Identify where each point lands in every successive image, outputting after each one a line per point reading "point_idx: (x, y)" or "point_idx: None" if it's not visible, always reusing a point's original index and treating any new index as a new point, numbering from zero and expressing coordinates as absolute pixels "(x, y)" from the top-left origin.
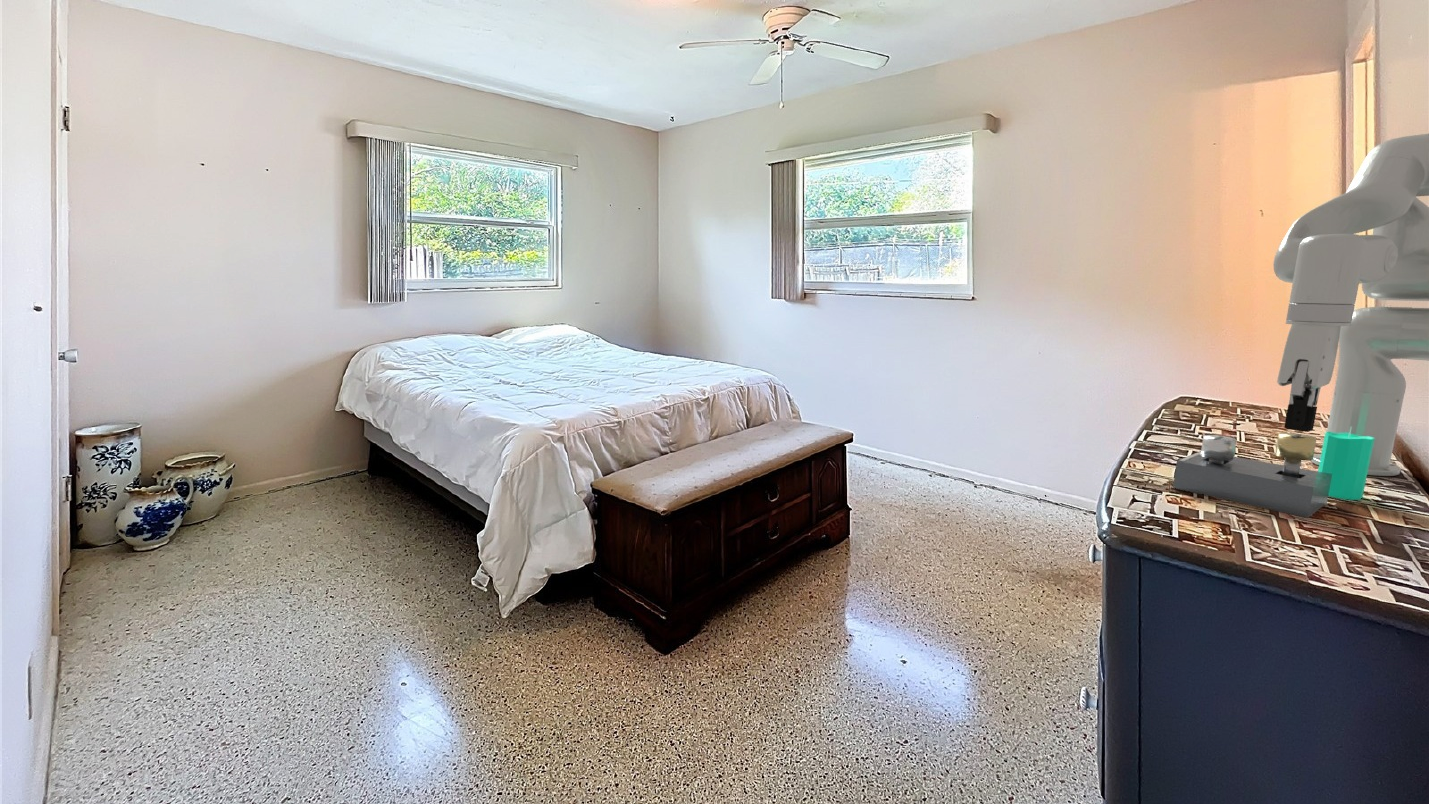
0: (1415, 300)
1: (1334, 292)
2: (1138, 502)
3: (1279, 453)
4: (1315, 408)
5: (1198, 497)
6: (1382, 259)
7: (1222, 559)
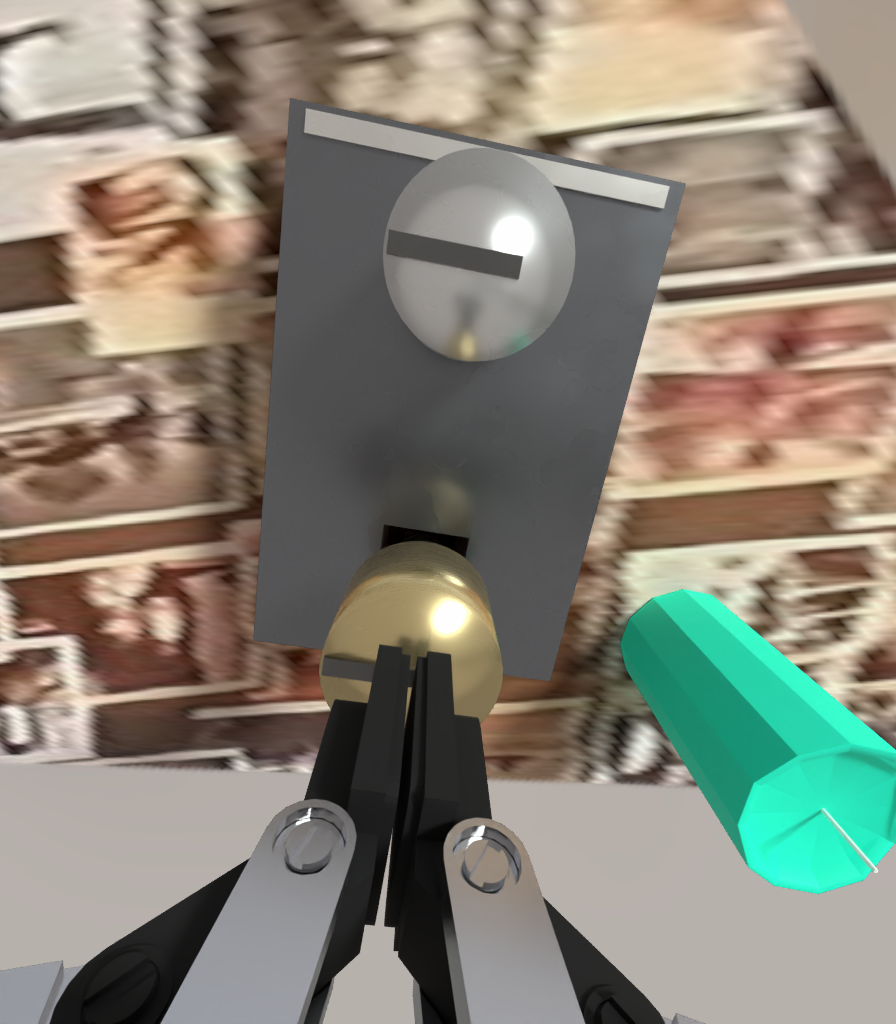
0: None
1: None
2: None
3: (364, 565)
4: (395, 929)
5: (263, 279)
6: None
7: None
